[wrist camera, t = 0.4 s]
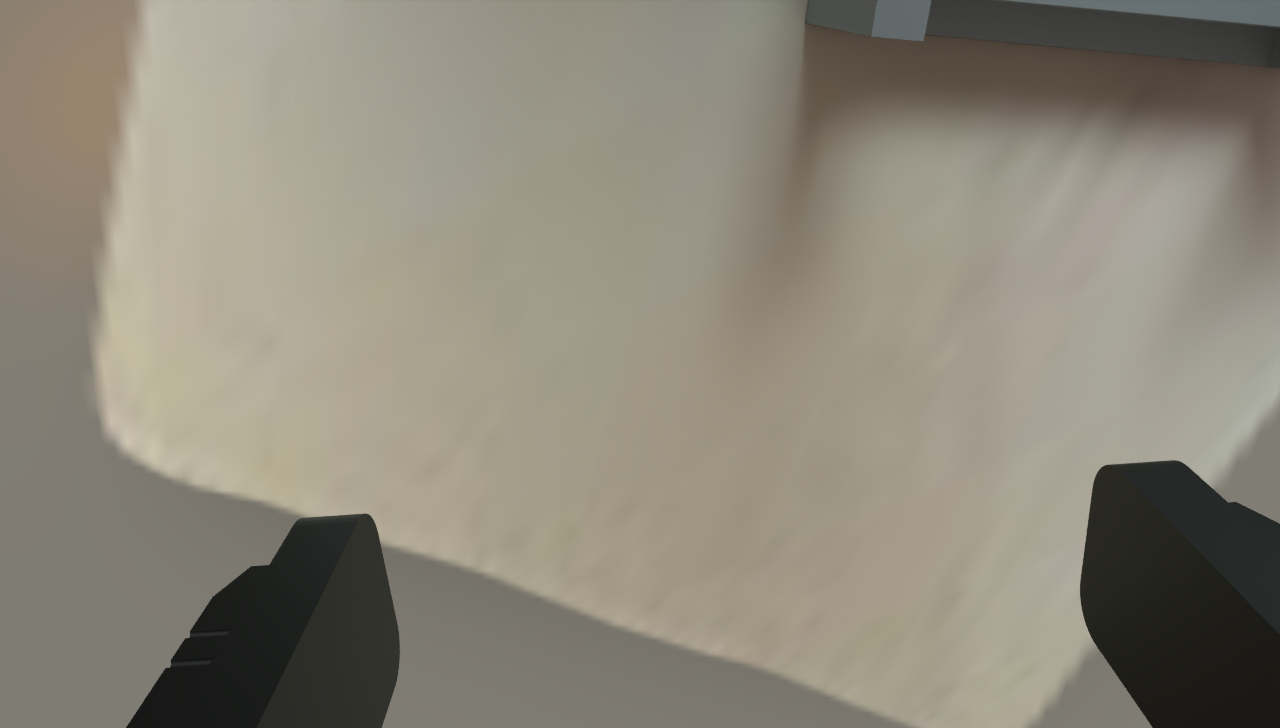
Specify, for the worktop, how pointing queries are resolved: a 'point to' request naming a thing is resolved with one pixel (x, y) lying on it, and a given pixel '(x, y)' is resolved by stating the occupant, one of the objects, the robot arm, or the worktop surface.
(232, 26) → the worktop surface
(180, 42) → the worktop surface
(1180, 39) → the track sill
